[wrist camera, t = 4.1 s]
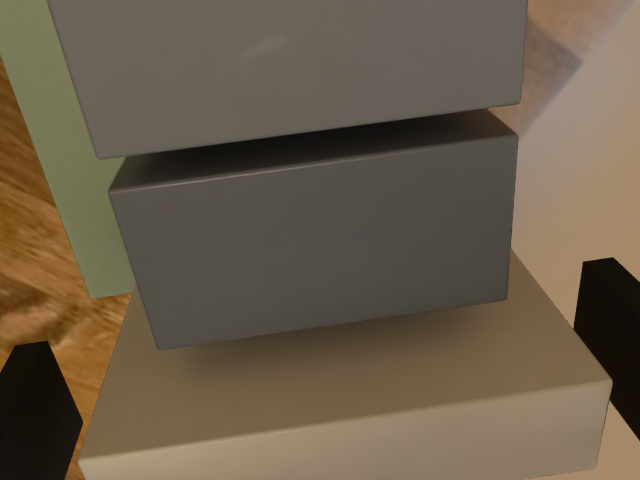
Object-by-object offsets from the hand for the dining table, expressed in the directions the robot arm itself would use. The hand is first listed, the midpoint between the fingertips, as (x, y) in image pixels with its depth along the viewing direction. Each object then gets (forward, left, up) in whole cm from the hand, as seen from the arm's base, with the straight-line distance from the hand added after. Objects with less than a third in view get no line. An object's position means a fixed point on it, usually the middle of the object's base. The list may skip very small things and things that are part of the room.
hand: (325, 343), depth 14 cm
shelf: (+2, -4, -16) cm, 17 cm away
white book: (0, 0, -8) cm, 8 cm away
